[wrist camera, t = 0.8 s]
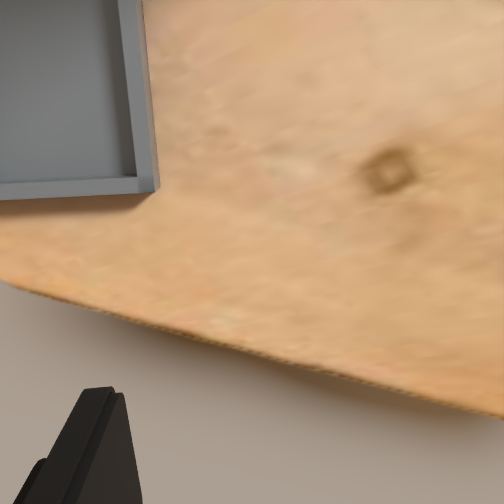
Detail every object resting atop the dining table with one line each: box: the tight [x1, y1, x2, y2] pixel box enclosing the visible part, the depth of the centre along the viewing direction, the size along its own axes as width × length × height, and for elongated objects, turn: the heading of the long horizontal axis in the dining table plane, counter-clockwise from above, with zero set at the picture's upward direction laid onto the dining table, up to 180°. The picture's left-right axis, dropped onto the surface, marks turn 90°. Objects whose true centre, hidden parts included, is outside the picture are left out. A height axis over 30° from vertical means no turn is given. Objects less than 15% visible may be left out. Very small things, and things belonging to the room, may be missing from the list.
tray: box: [0, 0, 160, 200], centre depth 35 cm, size 18×14×3 cm
